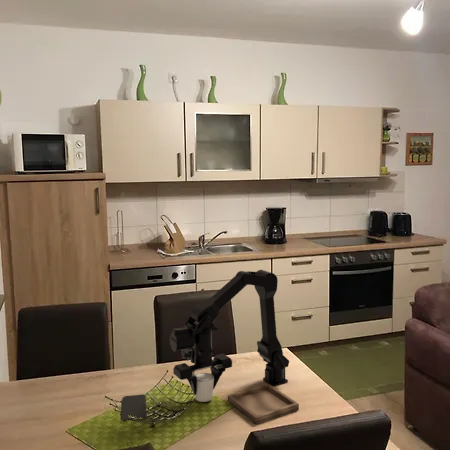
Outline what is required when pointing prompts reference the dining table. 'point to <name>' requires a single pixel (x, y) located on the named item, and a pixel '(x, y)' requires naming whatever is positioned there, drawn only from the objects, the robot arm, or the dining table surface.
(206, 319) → the robot arm
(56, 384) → the dining table surface
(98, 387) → the dining table surface
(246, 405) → the walnut tray
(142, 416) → the phone
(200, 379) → the shot glass
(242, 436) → the dining table surface
